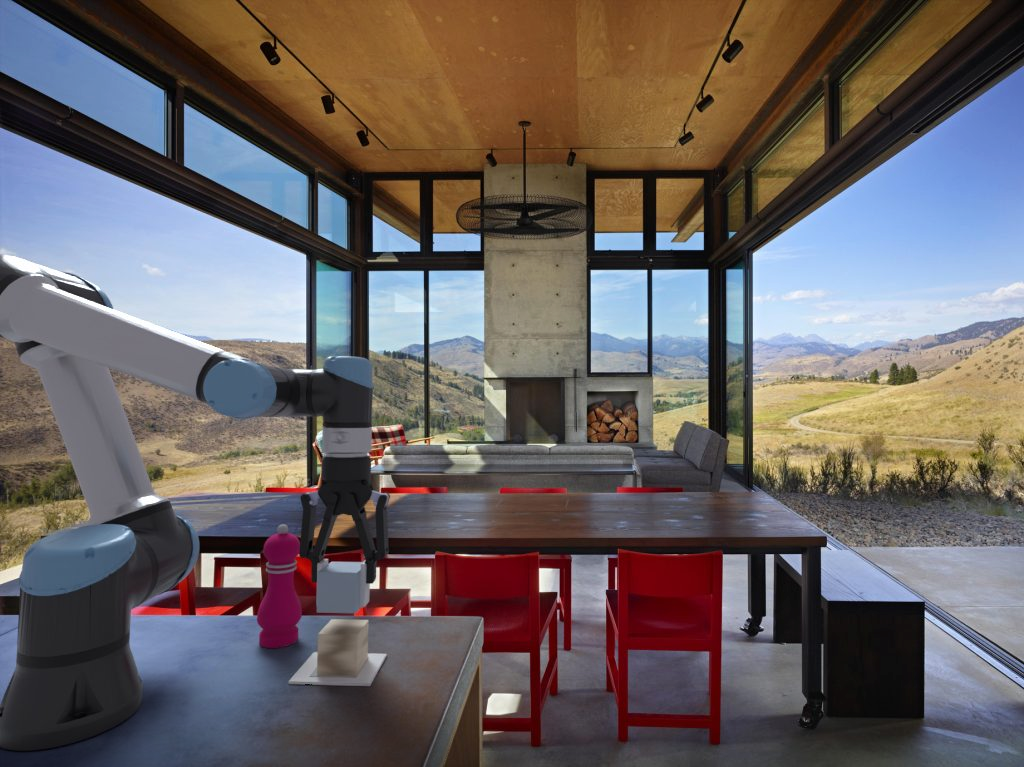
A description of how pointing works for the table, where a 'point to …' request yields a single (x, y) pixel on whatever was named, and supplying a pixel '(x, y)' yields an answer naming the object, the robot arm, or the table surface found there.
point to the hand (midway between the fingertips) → (343, 603)
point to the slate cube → (339, 588)
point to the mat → (363, 678)
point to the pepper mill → (280, 592)
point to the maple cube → (342, 647)
